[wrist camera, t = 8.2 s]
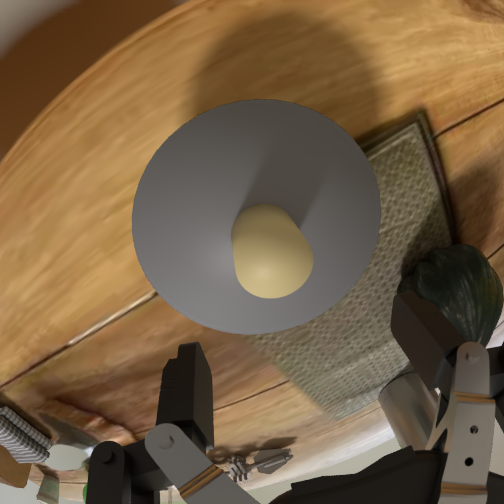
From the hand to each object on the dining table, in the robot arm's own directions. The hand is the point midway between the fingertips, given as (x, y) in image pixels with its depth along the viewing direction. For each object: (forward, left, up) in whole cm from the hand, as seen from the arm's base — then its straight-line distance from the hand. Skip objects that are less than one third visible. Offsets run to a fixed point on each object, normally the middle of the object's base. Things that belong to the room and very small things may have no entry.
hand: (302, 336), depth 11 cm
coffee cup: (+85, +75, -19) cm, 115 cm away
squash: (-21, +16, -19) cm, 33 cm away
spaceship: (+18, +53, -19) cm, 59 cm away
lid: (0, 0, -12) cm, 12 cm away
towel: (+65, +38, -19) cm, 77 cm away
